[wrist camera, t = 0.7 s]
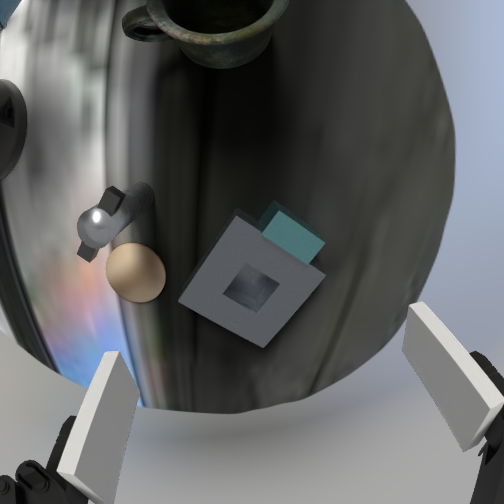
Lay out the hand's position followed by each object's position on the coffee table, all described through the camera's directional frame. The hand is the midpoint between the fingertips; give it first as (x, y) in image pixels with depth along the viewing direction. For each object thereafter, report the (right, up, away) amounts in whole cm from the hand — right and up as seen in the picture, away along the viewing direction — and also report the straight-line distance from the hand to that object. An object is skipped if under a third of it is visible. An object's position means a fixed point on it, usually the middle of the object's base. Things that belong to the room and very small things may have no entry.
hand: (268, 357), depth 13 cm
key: (-14, +11, +21) cm, 28 cm away
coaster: (-15, +2, +25) cm, 29 cm away
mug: (-5, +29, +15) cm, 33 cm away
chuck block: (0, +3, +25) cm, 25 cm away
